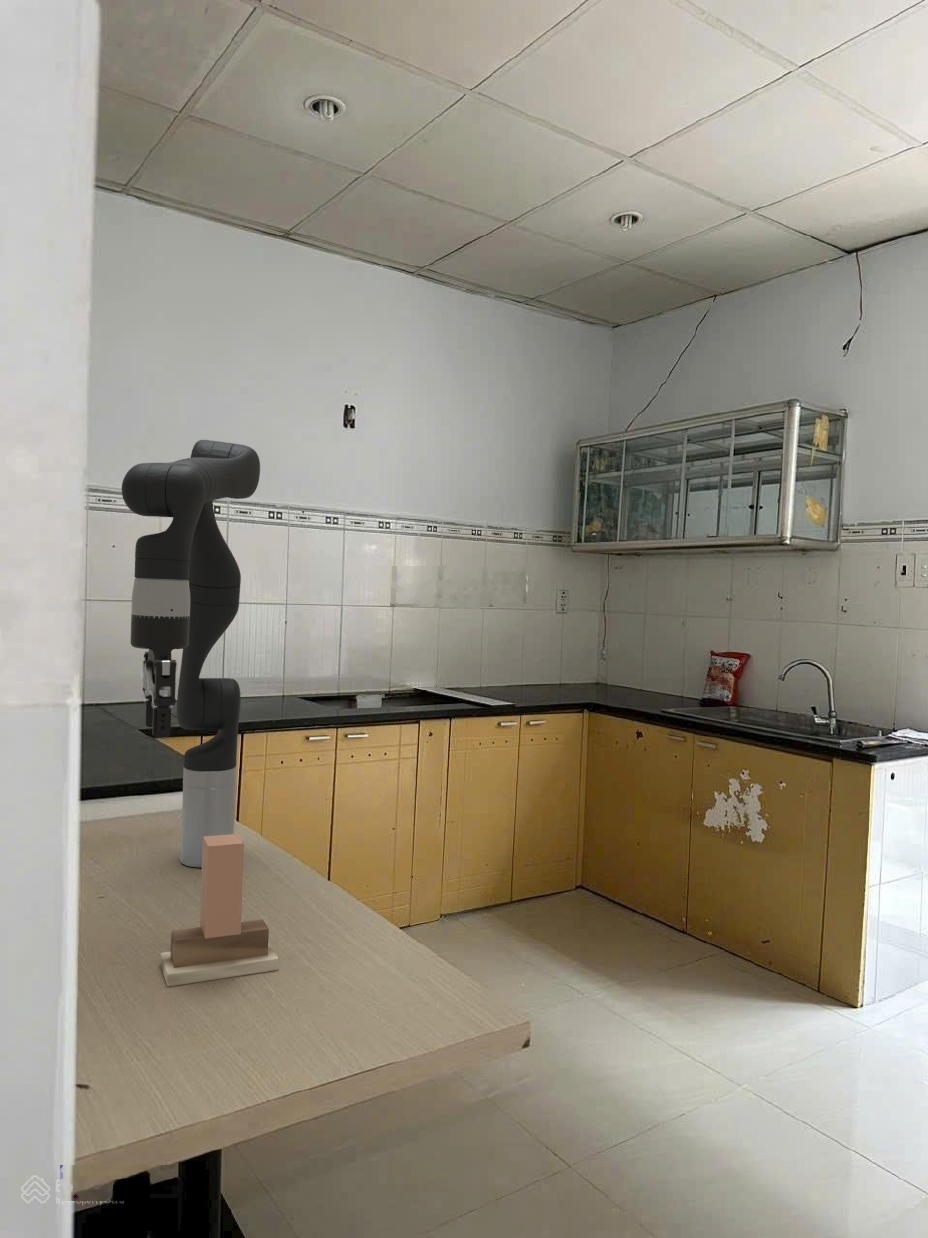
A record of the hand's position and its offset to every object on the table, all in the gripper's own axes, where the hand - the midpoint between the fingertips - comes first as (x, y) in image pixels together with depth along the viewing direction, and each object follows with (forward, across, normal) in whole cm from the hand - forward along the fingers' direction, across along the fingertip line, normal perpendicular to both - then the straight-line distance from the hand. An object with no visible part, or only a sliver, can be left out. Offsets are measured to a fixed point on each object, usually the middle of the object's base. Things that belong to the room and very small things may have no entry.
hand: (157, 731), depth 120 cm
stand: (+30, -9, -8) cm, 32 cm away
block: (+25, -9, -8) cm, 28 cm away
